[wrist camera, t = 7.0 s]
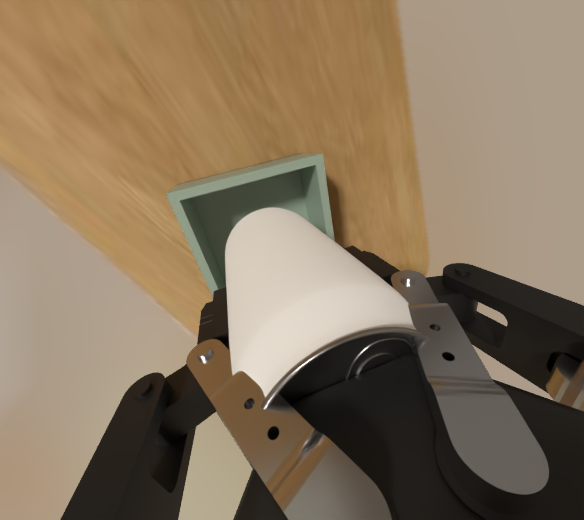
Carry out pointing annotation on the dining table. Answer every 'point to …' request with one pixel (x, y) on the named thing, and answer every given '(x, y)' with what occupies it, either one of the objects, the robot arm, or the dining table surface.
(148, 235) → the dining table surface
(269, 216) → the can
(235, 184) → the bin
